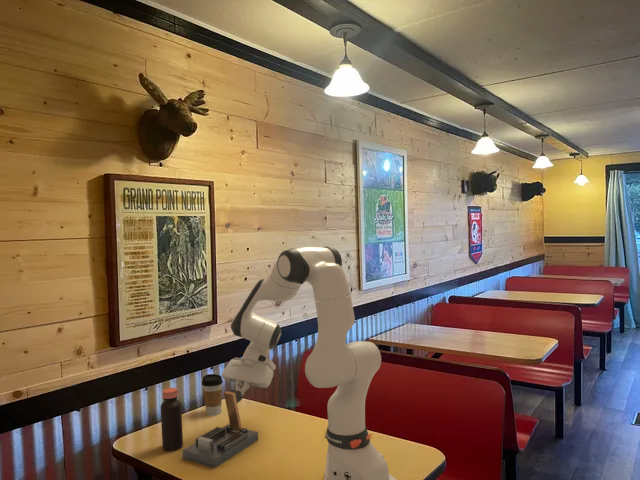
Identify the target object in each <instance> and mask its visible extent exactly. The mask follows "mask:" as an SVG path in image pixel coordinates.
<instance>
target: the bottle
mask: <svg viewBox="0 0 640 480" xmlns="http://www.w3.org/2000/svg"><path fill="white" fill-rule="evenodd" d="M178 396H179V394H178V388H177V387H170V388H165V389H163V390H162V399H163V402H162V403H161V404H160V421H161V425H160V426H161V441H162V445H161V446H162V450H164V451H166V452H175V451H177V450H180V449H181V448H182V447H183V445H184V439H183V436H184V435H183V417H182V403H181V401H180V400H179V399H178Z"/></svg>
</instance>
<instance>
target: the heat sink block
mask: <svg viewBox="0 0 640 480" xmlns="http://www.w3.org/2000/svg"><path fill="white" fill-rule="evenodd" d="M258 435H259V434H258V431H255V430H251V429H248V428H247V427H242V429H241V432H240V431H236V430H231V426H230V423H228V424H226V425H224V426H223V427H220V426H217V427H215V428H213V429H211V430H209V431H208V432H205V433H204V434H202V435H200V436H198V437H197V438H195V440H194V441H195V442H194V443H193V444H191V445H189V446H188V447H185V448H184V449H182V460H184V461H189V462H192V463H195V464H199V465H202V466H206V467H209V468H213V469H217V468H218V467H219V466H221V465H223V464H224V463H225V462H227V461H228V460H230V459H231V458H233V457H235V456H236V455H237V454H239V453H241V452H243V450H245V449H247V448H249V447H250V446H252V445H253V444H255V443H256V442H257V441H259V436H258Z"/></svg>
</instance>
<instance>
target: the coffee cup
mask: <svg viewBox="0 0 640 480" xmlns="http://www.w3.org/2000/svg"><path fill="white" fill-rule="evenodd" d="M223 383H224V381H223V377H222V375H219V374H216V373H215V374H214V373H210V374H205V375H204V376H202V380H201V386H202V388H203V389H202V392H203V399H204V405H205V413H206V416H209V417H211V416H213V417H214V416H218V415H220V414H221V413H222V400H223V398H222V397H223V396H222V395H223Z"/></svg>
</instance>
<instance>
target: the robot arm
mask: <svg viewBox="0 0 640 480" xmlns="http://www.w3.org/2000/svg"><path fill="white" fill-rule="evenodd" d="M342 266H343V260H342V256H341V254H340V252H339V251H338V249H336V248H334V247H331V246H301V247H297V248H296V247H295V248H294V247H293V248H286V249H283V251H282V252H281V253H280V254H279V255H278V258H277V260H276V261H275V264H274V265H273V268H272V269H271V272H270V275H269V276H267V277H266V278H261V279H260V280H258V281H257V282H256V284H255V285H254V287H253V288H252V289H251V291H250V293H249V294H248V296H247V298H246V299H245V301H244V303H243V304H242V306H241V308H240V309H239V310H238V311H237V312H236V313H235V315H234V316H233V318H232V320H231V323H230V330H231V332H232V333H233V335H234V336H236V337H238V338H243V339H244V340H248V341H250V342H249V344H248V346H247V347H246V349H245V350H244V352H243V355H242V357H233V358H232V359H230V361H229V362H228V364H227V365H226V366H225V368H224V369H223V371H222V374H221V377H222V379H224V380H225V381H226V382H231V383H235V390H236V391H241V395H242V397H243V396H244V394H245V392H246V391H247V390H249V389H250V386H253V387H258V388H264V389H266V388H268V387H270V384H271V382H272V380H273V377H274V371H275V370H276V368H277V366H276V365H275V363H274V362H273V361H272V360H271V358H269V355H270V352H271V351H272V350H273V349H275V348H277V344H278V342H279V340H280V339H281V336H282V329H281V326H280V324H279V323H277V322H276V321H275V320H273V319H269V318H265V317H263V316H261V315H259V314H256V313H255V312H253V310H254V308H255V307H256V305H257V303H258V302H261V301H268V302H269V301H270V302H280V303H281V302H286V301H290V300H292V299H293V298H295V296H296V295H297V293H298V292H299V290H300V288H301V285H304V284H305V282H306V283H308V284H310V285H311V287H312V290H313V299H314V305H315V309H316V317H317V327H318V328H317V338H316V342H315V344H314V347H313V350H312V351H311V353H310V354H309V355H308V356H307V358H306V360H305V366H304V373H305V376H306V379H307V381H308V382H309V383H310V384H311V385H312V386H313V387H315V388H319V389H321V388H322V389H325V388H327V389H328V388H335V387H337V388H336V389H335V391H334V392H333V394H331V396H330V397H329V399H328V402H327V404H326V405H327V427H326V430H327V437H326V440H327V443H328V445H327V452H326V457H325V458H326V459H325V471H324V479H323V480H398V479H397V478H396V477H394V476H393V475H391V474H390V473H389V465H388V463H387V461H386V459H385V458H384V455H383V454H382V453H381V452H379V451H378V450H377V448H376V447H375V446H374V444H372V443H371V439H372V438H373V433H371V434H369V432H368V429H367V426H366V399H367V394H368V391H369V387H370V384H371V382H372V379H373V378H374V376H375V374H376V373H377V372H378V371H379V369H380V367H381V365H382V354H381V352H380V349H379V348H378V347H377V345H376V344H375V343H374V342H371V341H367V340H365V341H364V340H363V341H361V340H358V341H352V342H347V343H346V341H347V336H348V333H349V331H350V330H351V328H353V326H354V324H355V320H356V318H355V311H354V307H353V301H352V296H351V295H352V294H351V291H350V287H349V282H348V279H347V276H346V273H345V271H344V269H343V267H342ZM242 385H243V386H242Z"/></svg>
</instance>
